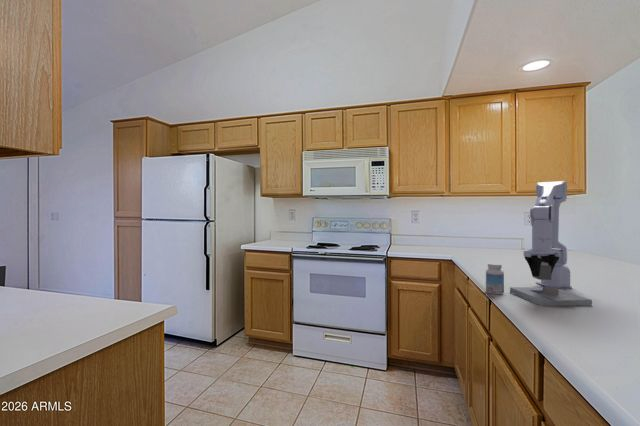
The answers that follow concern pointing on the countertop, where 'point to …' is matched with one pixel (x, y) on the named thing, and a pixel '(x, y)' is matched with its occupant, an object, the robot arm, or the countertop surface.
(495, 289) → the pill bottle
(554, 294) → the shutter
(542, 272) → the plug
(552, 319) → the countertop surface
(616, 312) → the countertop surface
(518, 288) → the socket panel
